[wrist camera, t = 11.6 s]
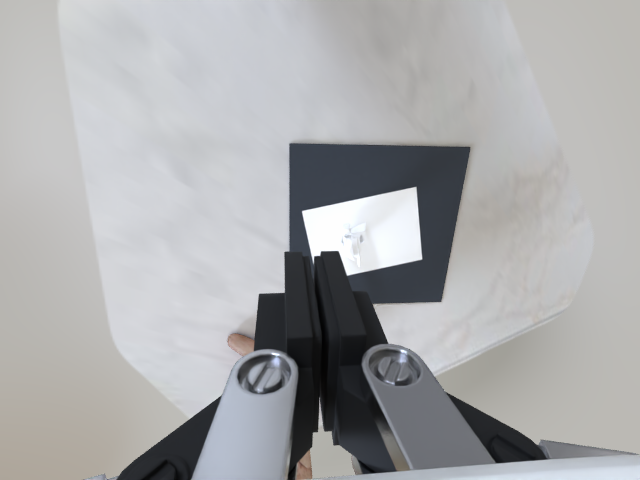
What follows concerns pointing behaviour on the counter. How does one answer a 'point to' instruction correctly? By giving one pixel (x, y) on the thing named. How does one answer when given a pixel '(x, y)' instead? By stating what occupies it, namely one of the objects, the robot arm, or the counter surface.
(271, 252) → the counter surface
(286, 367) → the robot arm
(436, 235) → the centre mat
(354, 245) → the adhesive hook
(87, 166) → the counter surface
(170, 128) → the counter surface
